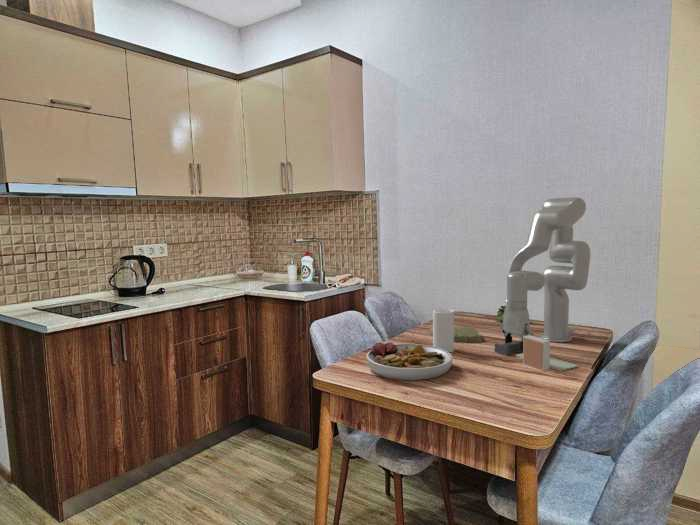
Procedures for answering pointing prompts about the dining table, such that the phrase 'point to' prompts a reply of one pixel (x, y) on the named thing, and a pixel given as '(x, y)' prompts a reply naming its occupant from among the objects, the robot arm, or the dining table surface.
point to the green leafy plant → (500, 312)
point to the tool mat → (556, 363)
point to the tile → (536, 352)
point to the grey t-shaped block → (508, 347)
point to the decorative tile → (464, 334)
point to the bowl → (408, 361)
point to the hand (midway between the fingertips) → (516, 348)
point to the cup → (443, 329)
